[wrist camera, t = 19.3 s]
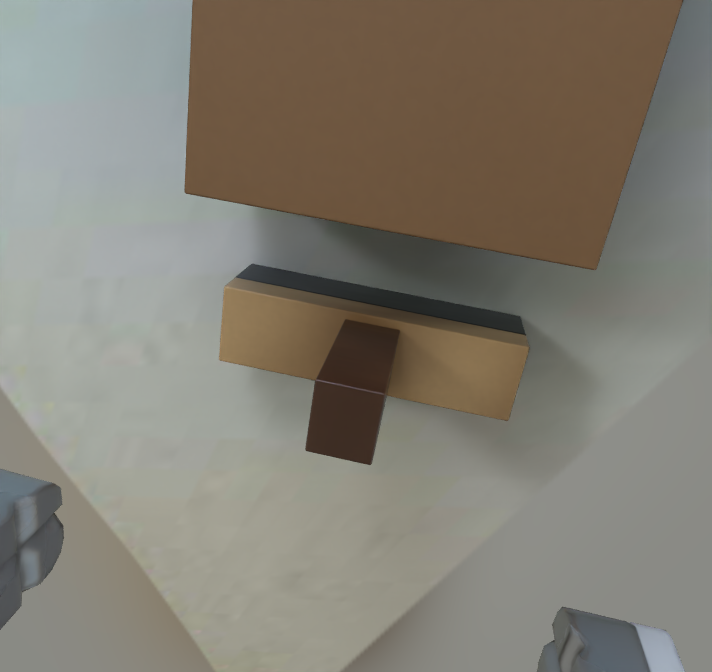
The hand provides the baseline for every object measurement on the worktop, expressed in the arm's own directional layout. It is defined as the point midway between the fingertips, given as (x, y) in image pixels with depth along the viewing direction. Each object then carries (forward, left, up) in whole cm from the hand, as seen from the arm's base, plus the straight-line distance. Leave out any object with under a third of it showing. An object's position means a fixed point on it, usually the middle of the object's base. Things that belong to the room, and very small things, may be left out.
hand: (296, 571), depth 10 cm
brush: (0, +2, -16) cm, 16 cm away
